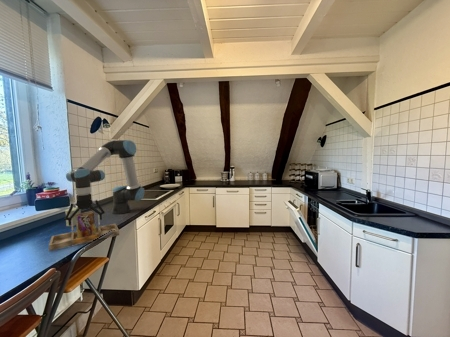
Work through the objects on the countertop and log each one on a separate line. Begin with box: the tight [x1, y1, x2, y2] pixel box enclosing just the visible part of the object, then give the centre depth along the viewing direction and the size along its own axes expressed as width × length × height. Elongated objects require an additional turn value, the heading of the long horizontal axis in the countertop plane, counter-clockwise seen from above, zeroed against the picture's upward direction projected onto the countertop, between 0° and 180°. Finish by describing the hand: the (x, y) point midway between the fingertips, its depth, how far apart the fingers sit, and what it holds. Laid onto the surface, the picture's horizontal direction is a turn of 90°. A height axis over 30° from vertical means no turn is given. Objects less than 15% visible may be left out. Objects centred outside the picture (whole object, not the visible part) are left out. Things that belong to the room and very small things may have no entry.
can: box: [64, 207, 82, 227], centre depth 148 cm, size 9×9×12 cm
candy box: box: [76, 210, 96, 238], centre depth 123 cm, size 9×4×15 cm, turn 140°
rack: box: [48, 223, 120, 252], centre depth 123 cm, size 34×15×4 cm, turn 126°
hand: (86, 227), depth 123 cm, fingers open, 13 cm apart
